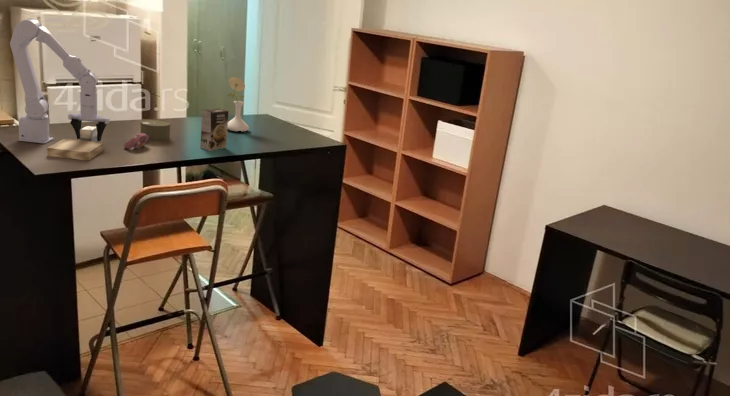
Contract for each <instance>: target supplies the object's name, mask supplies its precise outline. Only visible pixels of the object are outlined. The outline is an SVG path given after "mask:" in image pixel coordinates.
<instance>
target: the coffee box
mask: <svg viewBox="0 0 730 396" xmlns="http://www.w3.org/2000/svg"><path fill="white" fill-rule="evenodd" d="M228 122H229V110H226V109H221V108H207V109H202V112H201V126H200V127H201V129H200V142H199V143H200V146H199V148H201V149H203V150H206V151H209V152H211V151H218V149H219V150H222V149H221V148H225V149H226V148H227V140H228V129H227V126H228Z"/></svg>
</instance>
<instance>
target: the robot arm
mask: <svg viewBox="0 0 730 396" xmlns="http://www.w3.org/2000/svg"><path fill="white" fill-rule="evenodd" d="M34 39H35V41H37V42H40V43H43V44H46V46H47V47H48V48H49V49H50V50H52V51H53V52H54V54H56V55H57V57H59V58H60V60H62V66H63V67H64V69H65V70H67V72H68V73H69V74H71V76H72V77H73V78H74V80H77V81H78V85H79V87H80V92H79V98H80V101H79V103H80V104H79V105H80V107H79V109H80V113H69V114H67V118H68V120H69V121H70V125H71V126H72V128H73V130H74V133H75V136H76V140H80V129H82V122H90V123H91V122H92V123H96V124H95V127H96V128H97V141H98V142H101V141H102V136H103V133H104V131H105V129H106V127H107V125H108V124H110V118H109V117H104V116H99V115H98V94H97V84H98V77H97V75H96V74H95V73H94V72H92V70H91V69H90V68H87V66H86V65H85V64H84V63H83V62H82V61H83V60H82V59H81V57H77V56H76V55H71V54H70V53H69V52H68V51H67V50H66V49H65V48H64V46H63V45H62V44H61V43H60V42H59V41H58V39H56V38H55V36H54V34H52V32H51V31H50V30H48V28H47V27H45V26H44V25H42V23H41V22H40V21H39V20H38V19H36V18H32V17H31V18H27V19H24V20H21V21H19V22H18V23H17V24H16V25H15V26H14V29H13V33H12V35H11V39H10V42H9V46H10V49H11V52H12V56H13V59H14V62H15V66H16V68H17V71H18V75H19V78H20V79H19V80H20V81H21V84H22V88H23V91H24V102H25V107H24V111H25V114H26V115H21V116H20V117H19V120H18V141H20V142H27V143H36V144H37V143H38V144H47V143H49V142H51V141H53V140H54V137H50V123H49V122H50V121H49V119H50V118H49V115H48V114H47V112H48V110H49V108H50V103H49V102H48V100H47V99H45V97H44V95H43V92H42V91H41V89H40V87H39V82H38V79H37V76H36V72H35V70H34V66H33V65H34V64H33V62H32V58H31V55H30V53H29V49H28V46H29V45H30V44H31V42H32V41H33V40H34Z"/></svg>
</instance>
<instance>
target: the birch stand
mask: <svg viewBox="0 0 730 396" xmlns="http://www.w3.org/2000/svg"><path fill="white" fill-rule="evenodd" d="M46 150H47V157H51V158H52V157H53V158H61V159H62V158H63V159H70V158H71V160H80V161H89V162H90V161H91V160H92V159H94V158H95V157H97V156H98V155H100V154H101V153H102V152H104V143H103V142H99V141H98V142H90V141H81V140H80V139H71V138H63V139H61V140H59V141H57V142H55V143H53V144H51V145H49V146H48V147H47V149H46Z"/></svg>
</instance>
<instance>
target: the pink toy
mask: <svg viewBox="0 0 730 396" xmlns="http://www.w3.org/2000/svg"><path fill="white" fill-rule="evenodd" d="M148 139H149V136H148V135H147V134H144V133H141V132H140V133H137V134H135V135H134V136H132V138H130V139H129V140H127V141H126V142H125V143H124V145H123V147H124V149H126V150H129V149H132V148H134V149H138V148H139V147H140V148H141V147H143V146H144V145H145V144H146V143H147V142H149V141H148Z"/></svg>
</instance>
